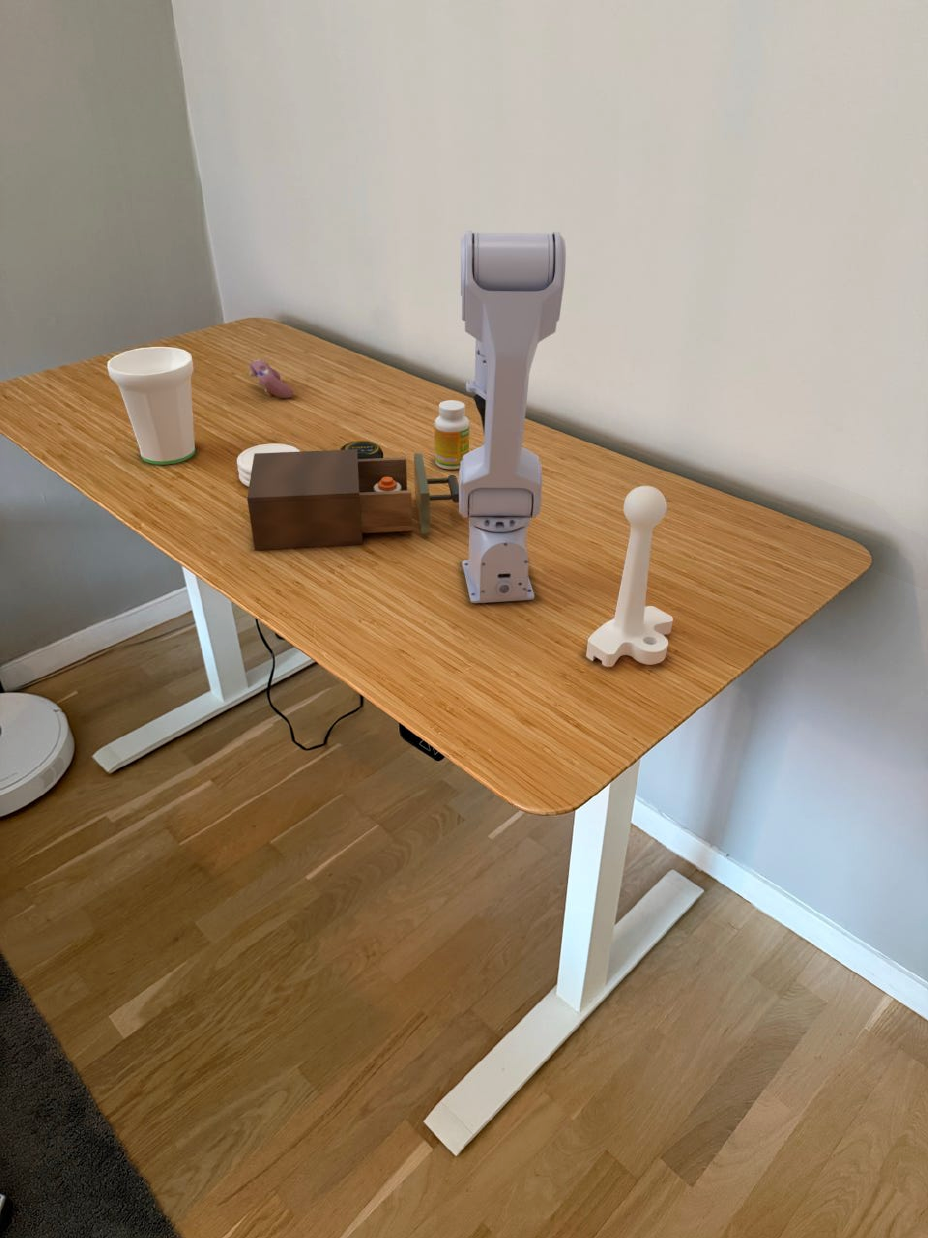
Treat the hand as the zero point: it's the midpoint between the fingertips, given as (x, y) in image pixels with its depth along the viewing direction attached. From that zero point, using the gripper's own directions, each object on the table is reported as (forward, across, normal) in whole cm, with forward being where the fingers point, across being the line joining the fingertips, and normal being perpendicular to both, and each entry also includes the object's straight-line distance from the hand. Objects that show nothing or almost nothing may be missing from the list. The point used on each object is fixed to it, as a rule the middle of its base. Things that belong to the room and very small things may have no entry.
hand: (494, 448), depth 122 cm
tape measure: (+10, -15, -18) cm, 26 cm away
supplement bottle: (+10, -17, -4) cm, 20 cm away
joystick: (+10, +33, +12) cm, 37 cm away
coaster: (+10, -15, -32) cm, 37 cm away
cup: (+10, -25, -49) cm, 56 cm away
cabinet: (+10, 0, -26) cm, 28 cm away
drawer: (+9, 0, -14) cm, 17 cm away
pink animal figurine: (+10, -50, -34) cm, 61 cm away
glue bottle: (+8, 0, -15) cm, 17 cm away
